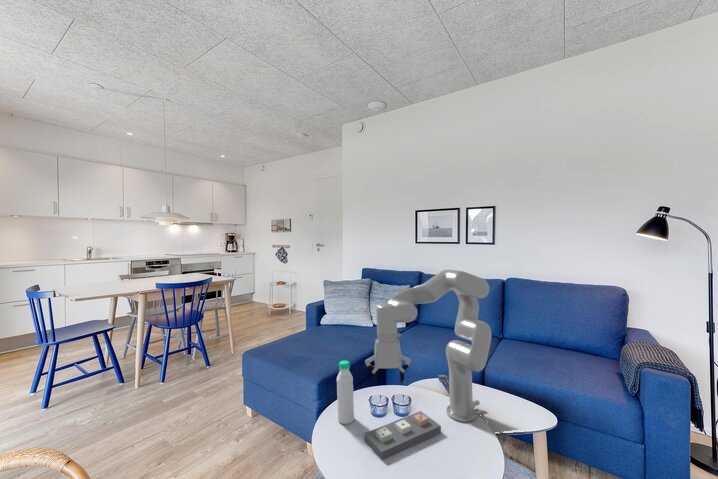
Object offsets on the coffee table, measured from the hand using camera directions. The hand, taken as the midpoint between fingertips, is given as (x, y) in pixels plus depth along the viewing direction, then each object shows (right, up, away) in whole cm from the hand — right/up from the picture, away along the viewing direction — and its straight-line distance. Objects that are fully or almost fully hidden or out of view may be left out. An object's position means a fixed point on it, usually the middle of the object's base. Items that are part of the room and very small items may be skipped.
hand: (388, 382), depth 114 cm
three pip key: (+14, -21, +8) cm, 27 cm away
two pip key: (-2, -22, -1) cm, 22 cm away
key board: (+6, -23, +3) cm, 24 cm away
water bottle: (-17, -24, +16) cm, 33 cm away
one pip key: (+6, -22, +4) cm, 23 cm away
